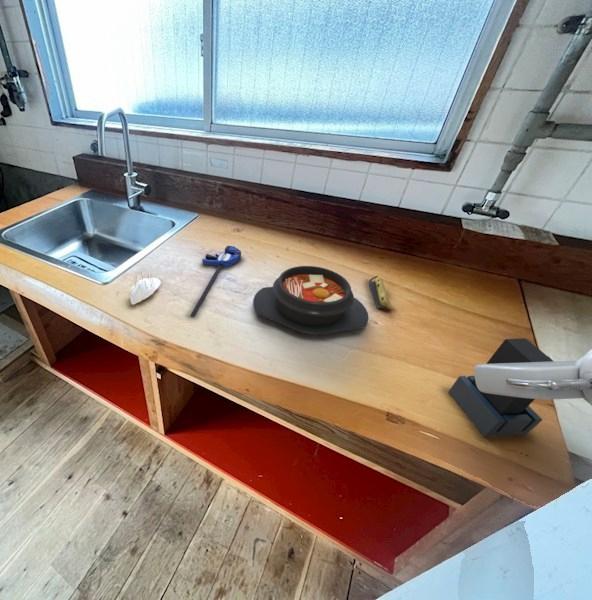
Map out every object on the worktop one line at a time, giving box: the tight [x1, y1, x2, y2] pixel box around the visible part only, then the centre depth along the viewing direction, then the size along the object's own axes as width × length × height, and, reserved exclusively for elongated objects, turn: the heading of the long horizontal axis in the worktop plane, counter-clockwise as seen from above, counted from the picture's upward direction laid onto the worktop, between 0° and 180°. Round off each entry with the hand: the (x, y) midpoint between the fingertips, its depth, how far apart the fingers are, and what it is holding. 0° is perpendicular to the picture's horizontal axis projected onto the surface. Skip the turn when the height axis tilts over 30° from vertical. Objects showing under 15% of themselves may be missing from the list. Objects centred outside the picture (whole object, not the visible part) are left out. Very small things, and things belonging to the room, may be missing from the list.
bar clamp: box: [190, 245, 242, 317], centre depth 86 cm, size 32×2×10 cm
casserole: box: [252, 265, 369, 336], centre depth 72 cm, size 25×19×8 cm
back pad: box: [472, 337, 554, 415], centre depth 47 cm, size 6×3×10 cm, turn 1°
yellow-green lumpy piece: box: [368, 275, 392, 310], centre depth 78 cm, size 3×14×3 cm
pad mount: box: [448, 375, 543, 438], centre depth 51 cm, size 8×6×4 cm
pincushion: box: [129, 271, 162, 306], centre depth 81 cm, size 12×6×6 cm, turn 153°
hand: (511, 372), depth 48 cm, fingers closed on back pad, 3 cm apart
